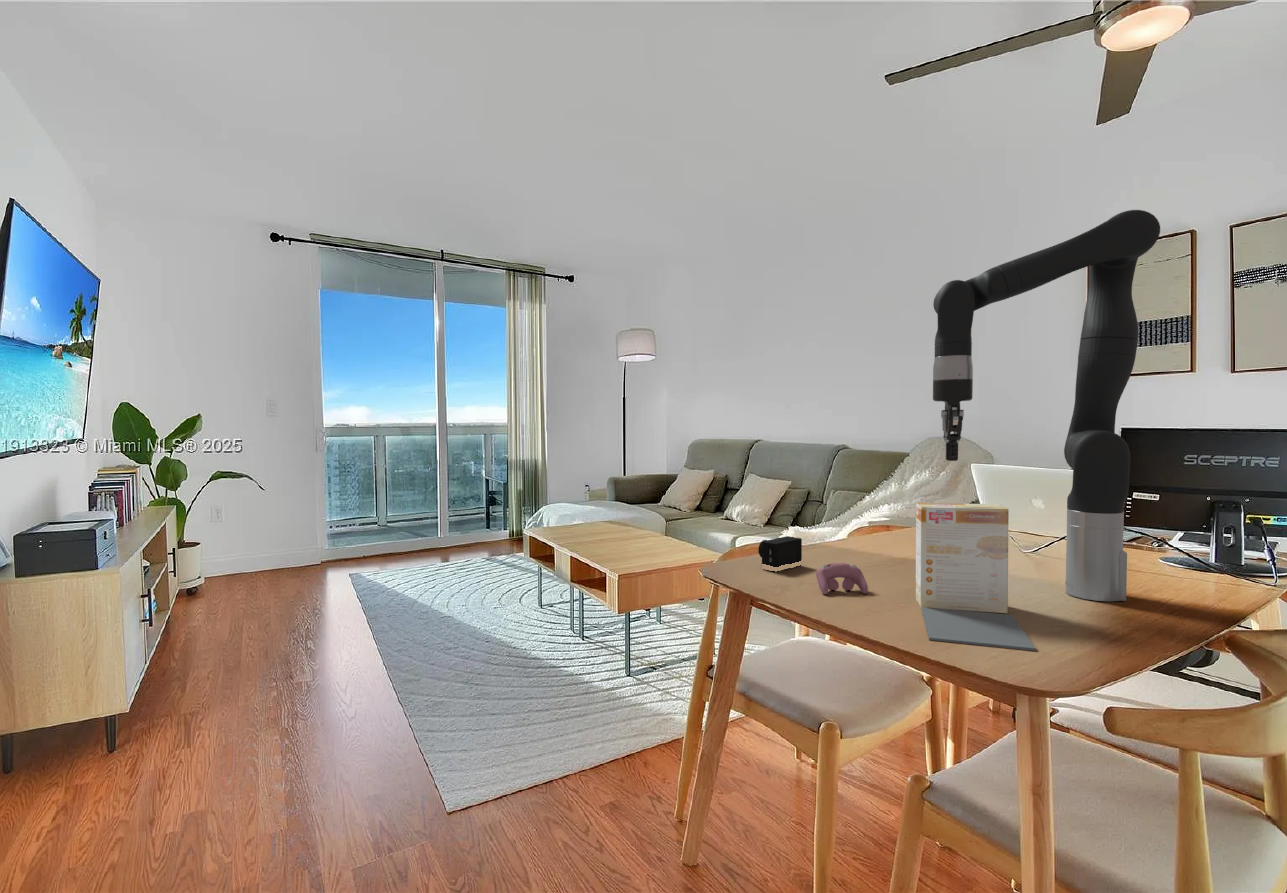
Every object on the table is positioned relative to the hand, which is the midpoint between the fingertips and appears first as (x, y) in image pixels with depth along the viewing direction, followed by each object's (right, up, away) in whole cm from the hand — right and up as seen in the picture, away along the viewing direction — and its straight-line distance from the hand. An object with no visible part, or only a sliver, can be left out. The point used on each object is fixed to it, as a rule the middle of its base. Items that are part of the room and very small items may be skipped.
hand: (951, 460), depth 132 cm
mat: (-9, -28, -26) cm, 39 cm away
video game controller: (-24, -28, -2) cm, 37 cm away
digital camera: (-32, -27, +20) cm, 46 cm away
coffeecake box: (-5, -28, -13) cm, 31 cm away
